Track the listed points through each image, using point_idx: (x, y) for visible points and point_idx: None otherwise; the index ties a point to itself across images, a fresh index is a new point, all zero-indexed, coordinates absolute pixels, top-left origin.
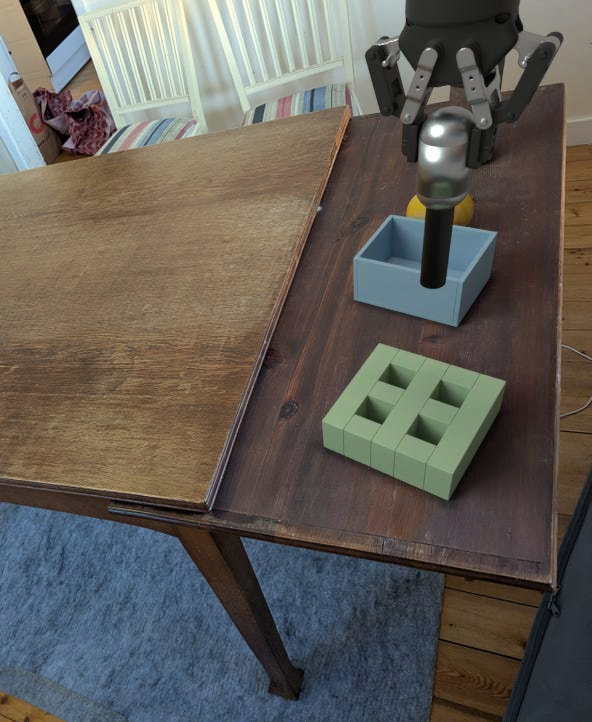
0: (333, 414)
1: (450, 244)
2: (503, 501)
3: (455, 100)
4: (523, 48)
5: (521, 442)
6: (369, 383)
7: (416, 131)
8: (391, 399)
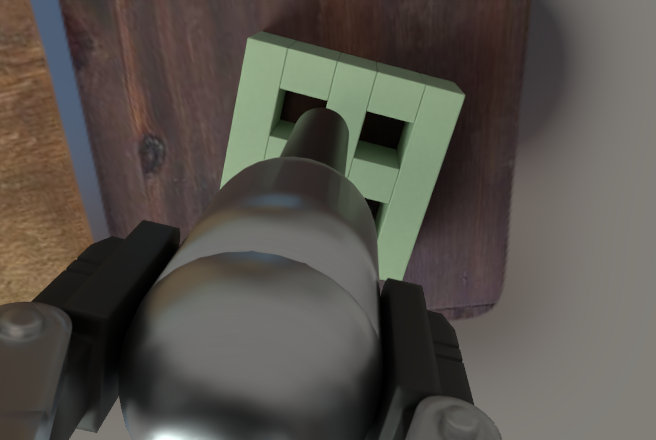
0: None
1: (345, 167)
2: (459, 238)
3: None
4: None
5: (482, 138)
6: (258, 145)
7: (108, 409)
8: None
